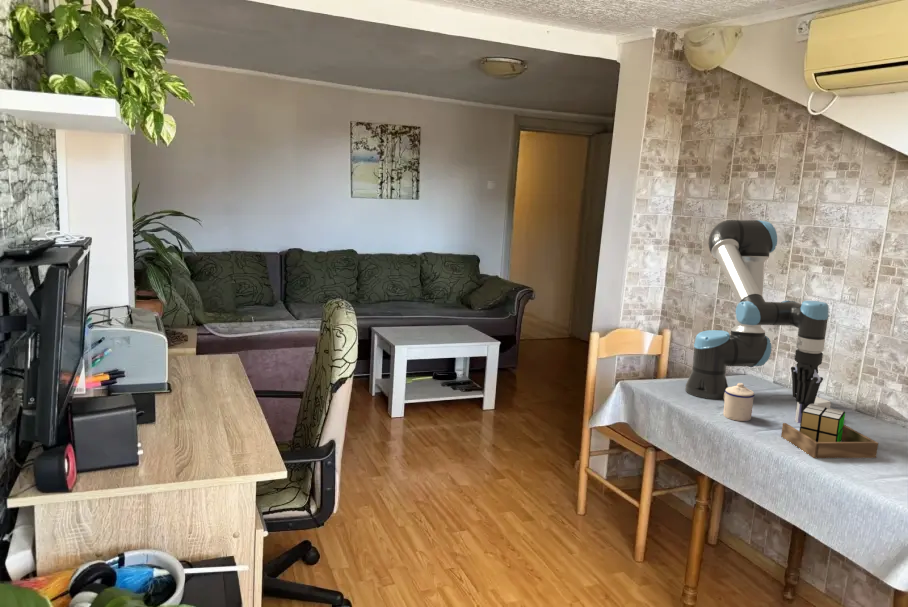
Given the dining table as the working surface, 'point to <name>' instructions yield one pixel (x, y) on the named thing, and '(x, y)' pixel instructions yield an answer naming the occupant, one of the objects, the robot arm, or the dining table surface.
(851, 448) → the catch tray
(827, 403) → the cream white cube
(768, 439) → the dining table surface
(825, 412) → the puzzle cube
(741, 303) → the robot arm
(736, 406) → the teacup with lid
